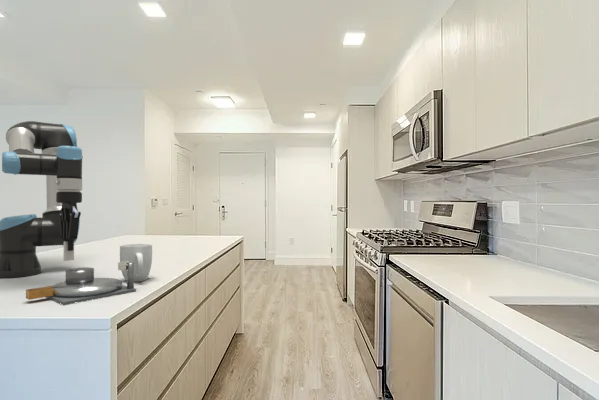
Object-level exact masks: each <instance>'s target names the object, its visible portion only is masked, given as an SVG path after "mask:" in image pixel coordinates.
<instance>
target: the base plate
mask: <svg viewBox="0 0 599 400" xmlns="http://www.w3.org/2000/svg"><path fill="white" fill-rule="evenodd" d="M135 292H137V288H135V287H134V288H132V289H127V285H124V284H122V287H121V288H120V289H118V290H115V291H112V292H108V293H103V294H98V295H91V296H80V297H60V296H49V297H45V299H46V298H47V299H49V300H51V301H53V302H55V301H56V302H55V303H57V302H58V303H57V304H60V303H61V304H60V305H62V304H63V305H62V306H66V305H65V304H67V305H71V304H70V303H72V304H76V303H75V302H78V303H82V302H81V301H83V302H87V300H88V301H92V299H93V300H97V299H98V298H99V299H103V297H104V298H110V297H114V296H119V295H124V294H129V293H135Z"/></svg>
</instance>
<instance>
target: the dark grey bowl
mask: <svg viewBox="0 0 599 400" xmlns="http://www.w3.org/2000/svg"><path fill="white" fill-rule="evenodd" d="M94 278H95V268H94V267H88V266H87V267H75V268H74V267H73V268H69V269H66V270H65V281H66V284H85V283H90V282H93V281H94Z"/></svg>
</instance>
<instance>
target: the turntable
mask: <svg viewBox="0 0 599 400" xmlns="http://www.w3.org/2000/svg"><path fill="white" fill-rule="evenodd" d="M122 285H123V280H121V279H120V278H115V277H114V278H113V277H94V281H93V282H90V283H85V284H66V280H65V281H61V282H58V283H55V284H52V285H47V286H42V287H35V288H27V289H25V299H26V300H36V299H42V298H46V297H49V296H60V297H80V296H91V295H98V294H103V293H108V292H112V291H115V290H118V289H120V288H121V287H122Z"/></svg>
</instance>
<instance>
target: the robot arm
mask: <svg viewBox="0 0 599 400" xmlns="http://www.w3.org/2000/svg"><path fill="white" fill-rule="evenodd" d="M76 134H77V133H76V130H75V129H74V128H73V126H71V125H67V124H63V123H60V124H59V123H53V122H51V123H49V122H41V121H33V120H30V121H28V120H27V121H23V122H22V121H21V122H19V123H16V124H14V125H12V126H11V127H9V128H8V129H7V131H6V133H5V140H6V143H7V145H8V151H3V152H2V153H1V171H2V173H4V174H9V175H11V174H12V175H29V176H30V175H31V176H46V178H45V180H46V182H45V183H46V210H44V212H42V217H37V214H34V213H31V214H21V215H12V216H7V217H3V218H1V219H0V279H5V278H6V279H8V278H9V279H10V278H21V277H22V278H23V277H29V276H34V275H38V274H40V273H41V272H42V266H41V264H40V261H39V259H38V255H37V250H36V249H37V247H49V246H53V247H54V246H63V261H64V262H67V261H75V243H76V242H77V240H78V236H79V231H80V222H81V220H80V218H81V215H82V214H81V211H78V204H80V203H82V201H83V193H82V192H81V191H82V190H83V158H84V157H83V149H82V148H81V147H78V143H77V142H78V141H77V140H78V139H77V135H76ZM35 150H41V153H35Z"/></svg>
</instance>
